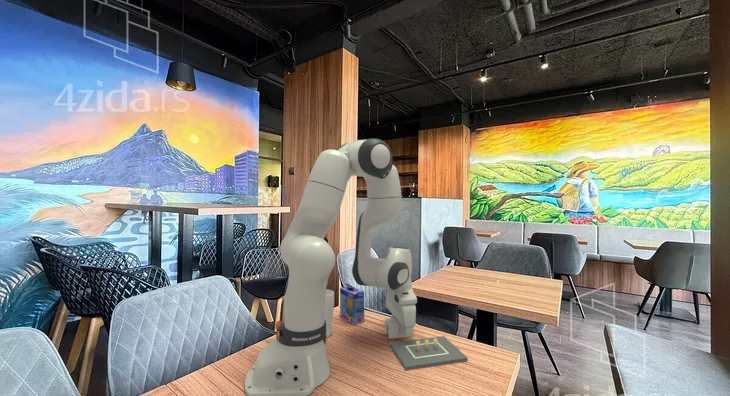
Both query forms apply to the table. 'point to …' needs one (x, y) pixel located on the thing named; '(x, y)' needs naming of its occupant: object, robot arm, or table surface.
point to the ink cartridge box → (352, 304)
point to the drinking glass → (329, 310)
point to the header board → (427, 352)
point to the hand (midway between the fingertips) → (399, 329)
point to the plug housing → (396, 329)
